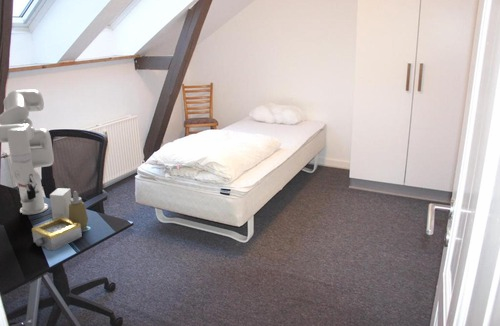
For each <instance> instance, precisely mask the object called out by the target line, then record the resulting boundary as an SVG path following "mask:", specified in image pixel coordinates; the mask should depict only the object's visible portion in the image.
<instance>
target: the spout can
mask: <svg viewBox="0 0 500 326" xmlns="http://www.w3.org/2000/svg"><path fill="white" fill-rule="evenodd" d="M29 183H31V182H29ZM18 186H19V189H18V192H19V191H20V195H19V196H20V203H21V202H23V203H29V202H32V201H34V200H35V198H33V199H30V200H29V199H28V196H27V191H28V190H27V187H26V185H22V184H19V183H18ZM18 186H17V187H18ZM30 186H31V184H30V185H29V187H30ZM37 193H39V191H38V190H36V191H35V194H37Z"/></svg>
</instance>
